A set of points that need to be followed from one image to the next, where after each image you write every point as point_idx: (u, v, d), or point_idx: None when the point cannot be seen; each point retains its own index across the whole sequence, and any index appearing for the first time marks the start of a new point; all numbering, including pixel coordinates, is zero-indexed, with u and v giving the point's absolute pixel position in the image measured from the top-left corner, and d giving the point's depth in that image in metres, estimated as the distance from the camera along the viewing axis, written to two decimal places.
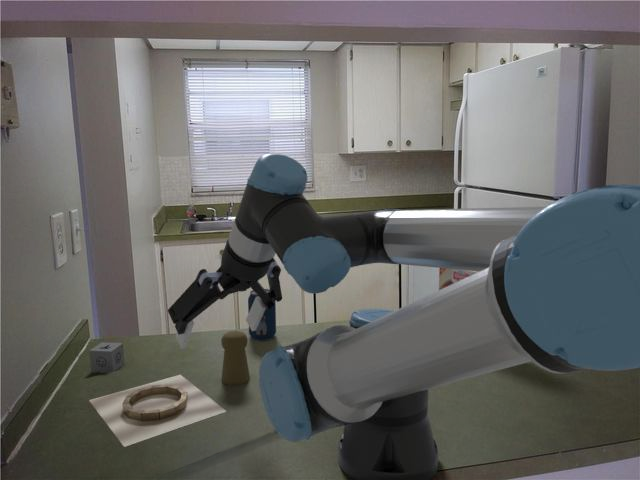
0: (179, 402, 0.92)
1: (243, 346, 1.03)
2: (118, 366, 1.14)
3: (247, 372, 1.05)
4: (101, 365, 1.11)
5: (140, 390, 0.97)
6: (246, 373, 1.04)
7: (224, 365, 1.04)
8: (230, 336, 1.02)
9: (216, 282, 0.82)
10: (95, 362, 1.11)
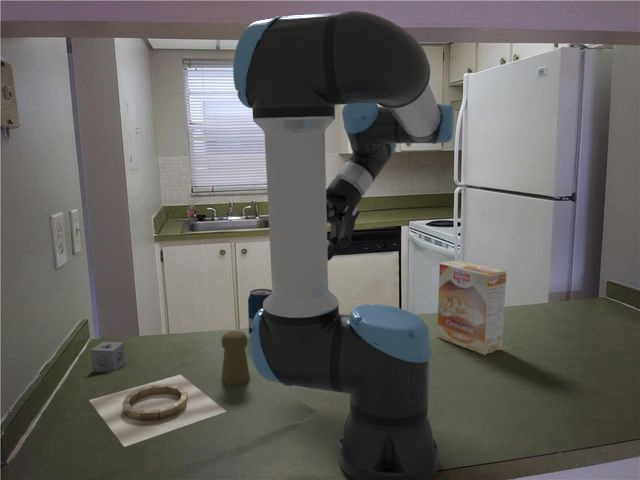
0: (179, 402, 0.92)
1: (243, 346, 1.03)
2: (119, 365, 1.14)
3: (247, 372, 1.05)
4: (102, 365, 1.12)
5: (140, 390, 0.97)
6: (246, 373, 1.04)
7: (224, 365, 1.04)
8: (230, 336, 1.02)
9: None
10: (96, 361, 1.12)
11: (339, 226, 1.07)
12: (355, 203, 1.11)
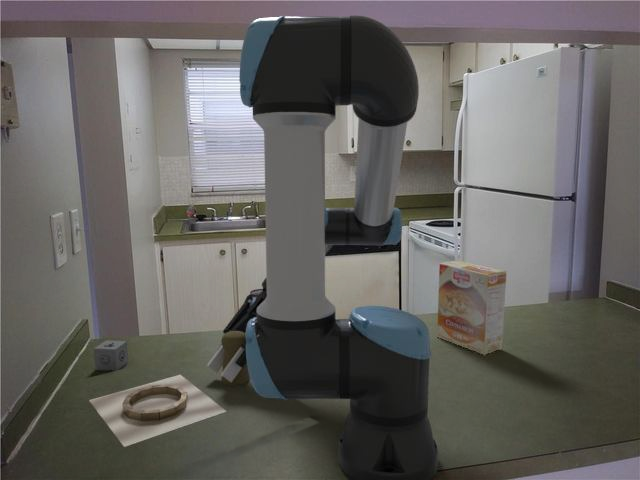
0: (179, 402, 0.92)
1: None
2: (122, 364, 1.15)
3: (247, 372, 1.05)
4: (105, 363, 1.13)
5: (140, 390, 0.97)
6: (246, 373, 1.04)
7: (224, 365, 1.04)
8: (230, 336, 1.02)
9: None
10: (99, 360, 1.13)
11: None
12: None
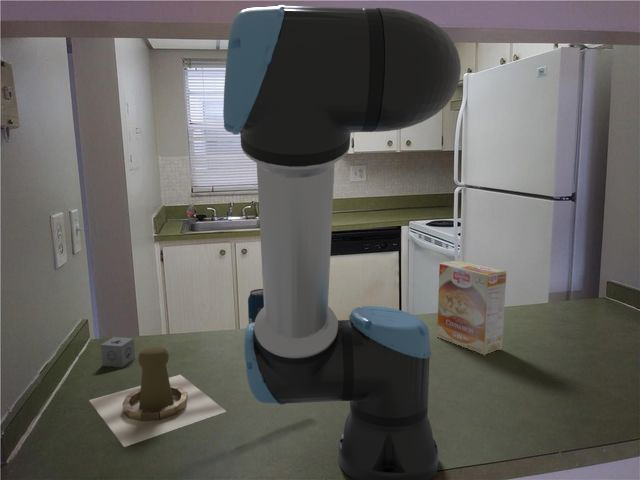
0: (179, 402, 0.92)
1: (162, 363, 0.91)
2: (128, 361, 1.17)
3: (168, 392, 0.93)
4: (112, 359, 1.15)
5: (140, 390, 0.97)
6: (166, 393, 0.93)
7: (141, 385, 0.92)
8: (147, 353, 0.91)
9: None
10: (106, 356, 1.15)
11: None
12: None
